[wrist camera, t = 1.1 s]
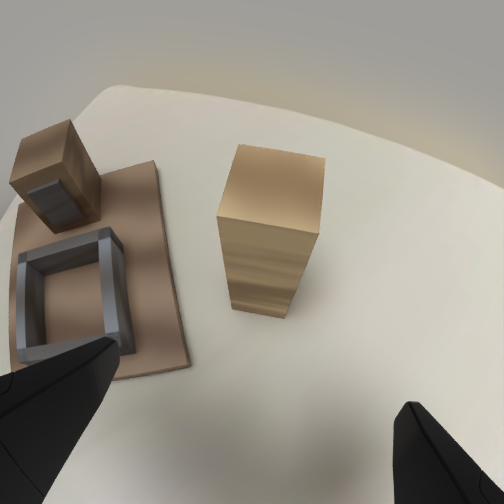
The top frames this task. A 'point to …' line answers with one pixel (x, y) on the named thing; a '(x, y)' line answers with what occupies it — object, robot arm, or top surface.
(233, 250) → the beige block
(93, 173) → the wooden fixture board
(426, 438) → the robot arm
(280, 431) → the top surface
